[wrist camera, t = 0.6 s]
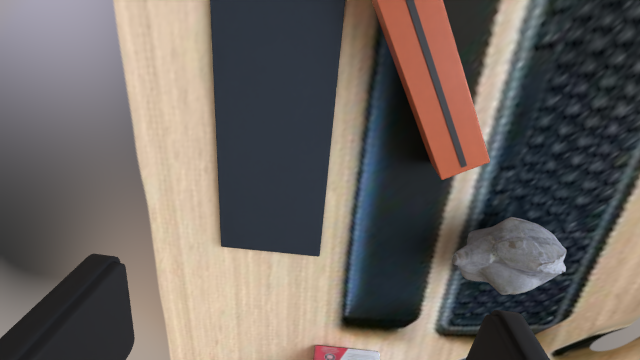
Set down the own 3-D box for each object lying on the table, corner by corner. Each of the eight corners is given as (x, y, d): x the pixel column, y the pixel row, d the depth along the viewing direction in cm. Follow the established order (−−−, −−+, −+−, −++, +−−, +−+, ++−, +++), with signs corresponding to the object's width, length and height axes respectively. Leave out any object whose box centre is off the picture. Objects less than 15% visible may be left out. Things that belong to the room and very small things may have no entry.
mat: (211, -20, 28) (208, -21, 28) (346, -8, 28) (346, -8, 28) (222, 243, 39) (221, 246, 39) (319, 253, 39) (319, 256, 39)
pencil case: (355, -44, 27) (357, -54, 23) (406, -73, 26) (417, -87, 23) (431, 163, 34) (442, 180, 30) (474, 146, 33) (491, 162, 29)
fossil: (433, 269, 39) (453, 326, 32) (440, 199, 36) (466, 245, 28) (535, 269, 39) (580, 327, 31) (554, 197, 35) (610, 244, 28)
